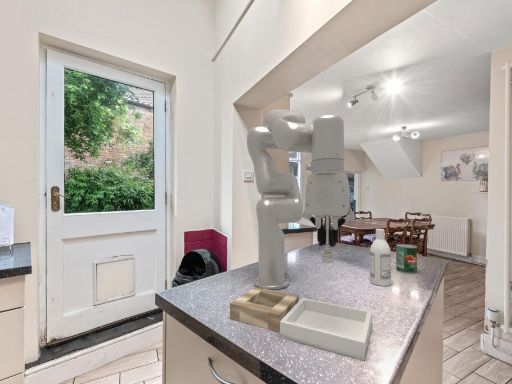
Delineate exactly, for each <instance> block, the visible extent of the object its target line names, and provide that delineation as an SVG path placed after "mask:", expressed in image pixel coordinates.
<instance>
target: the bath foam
mask: <svg viewBox="0 0 512 384" xmlns="http://www.w3.org/2000/svg"><path fill="white" fill-rule="evenodd" d="M385 236H386V235H385V229H384V228H376V229H375V239H374V240H373V242H372V244H371V246H370V249H369V281H370V283H371V284H372V285H375V286H378V287H389V286H390V285H391V284H392V266H391V265H392V257H391V256H392V251H391V247H390V245H389V244H388V242H387V240H386V238H385Z"/></svg>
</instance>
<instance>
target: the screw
mask: <svg viewBox="0 0 512 384" xmlns="http://www.w3.org/2000/svg"><path fill="white" fill-rule="evenodd" d="M323 222H324V224H323V225H324V228H325V230H324V231H325V232H324V233H325V235H324V236H325V237H324V238H325V240H324V241H325V242H324V243H325V244H324V245H323V246H324V249H321V250H318V252H317V256H320V257H321V262H322V263H323V264H333V263H335V258H337V257H339V253H338V252H337V251H335V250H333V249H332V247H331V246H330V230H331V229H332V216H324V219H323Z"/></svg>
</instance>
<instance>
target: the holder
mask: <svg viewBox="0 0 512 384" xmlns="http://www.w3.org/2000/svg"><path fill="white" fill-rule="evenodd" d="M299 296H300V295H299V294H294V293H287V292H282V291H278V290H274V289H264V288H260V287H257V286H255V287H253V288H251V289H250V290H248V291H247V292H245V293H243V294H242V295H241V296H239V297H238V298H236V299H234V300H233V301H231V302H230V303H229V319H230V320H232V321H237V322H241V323H244V324H249V325H251V326H255V327H259V328H263V329H267V330H271V331H274V332H277V333H280V321H281V320H282V319H283V318H284V317H285V316H286V315H287V313H288V312H289V311H290V310H291V309H292V308H293V307H294V306H295V305H296V304H297V303H298V302H299V301H300V297H299Z"/></svg>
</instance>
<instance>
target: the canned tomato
mask: <svg viewBox="0 0 512 384" xmlns="http://www.w3.org/2000/svg"><path fill="white" fill-rule="evenodd" d="M395 247H396V249H395V250H396V251H395V252H396V253H395V256H396V257H395V259H396V262H395V263H396V265H395V266H396V269H395V270H396V271H397V272H398V273H401V274H406V275H407V274H408V275H409V274H410V275H415V274H418V246H417V245H415V244H414V245H413V244H407V243H402V244H401V243H398V244H397V243H396V244H395Z"/></svg>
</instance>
